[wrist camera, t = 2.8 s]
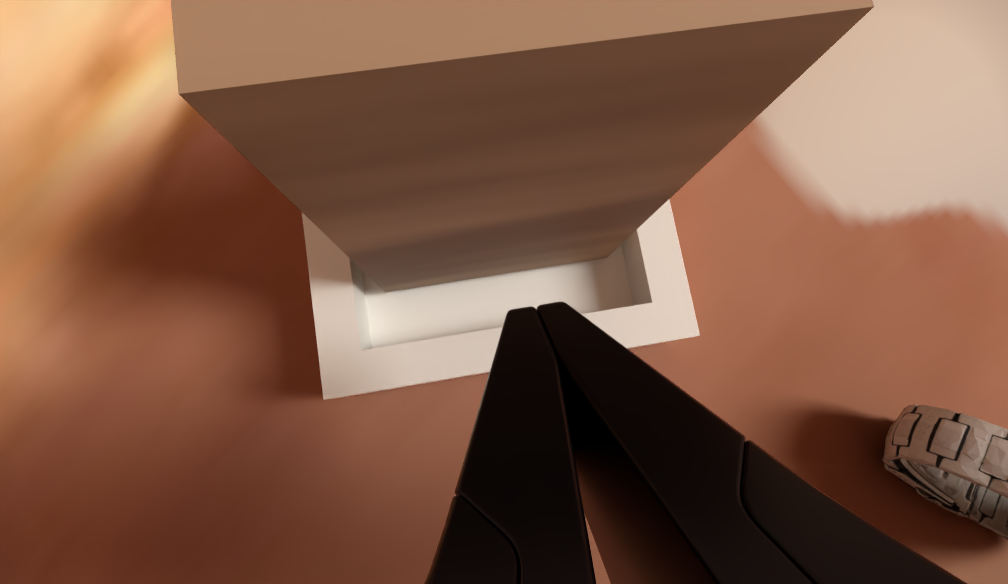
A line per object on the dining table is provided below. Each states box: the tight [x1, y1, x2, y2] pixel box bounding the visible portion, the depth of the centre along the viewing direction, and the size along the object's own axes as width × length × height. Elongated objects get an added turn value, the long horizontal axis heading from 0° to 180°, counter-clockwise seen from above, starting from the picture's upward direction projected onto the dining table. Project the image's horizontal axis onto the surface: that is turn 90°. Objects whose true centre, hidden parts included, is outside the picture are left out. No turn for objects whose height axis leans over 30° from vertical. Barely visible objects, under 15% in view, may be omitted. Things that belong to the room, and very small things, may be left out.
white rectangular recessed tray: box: [302, 200, 700, 400], centre depth 15 cm, size 17×9×2 cm, turn 10°
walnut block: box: [171, 0, 874, 292], centre depth 10 cm, size 4×6×10 cm, turn 100°
